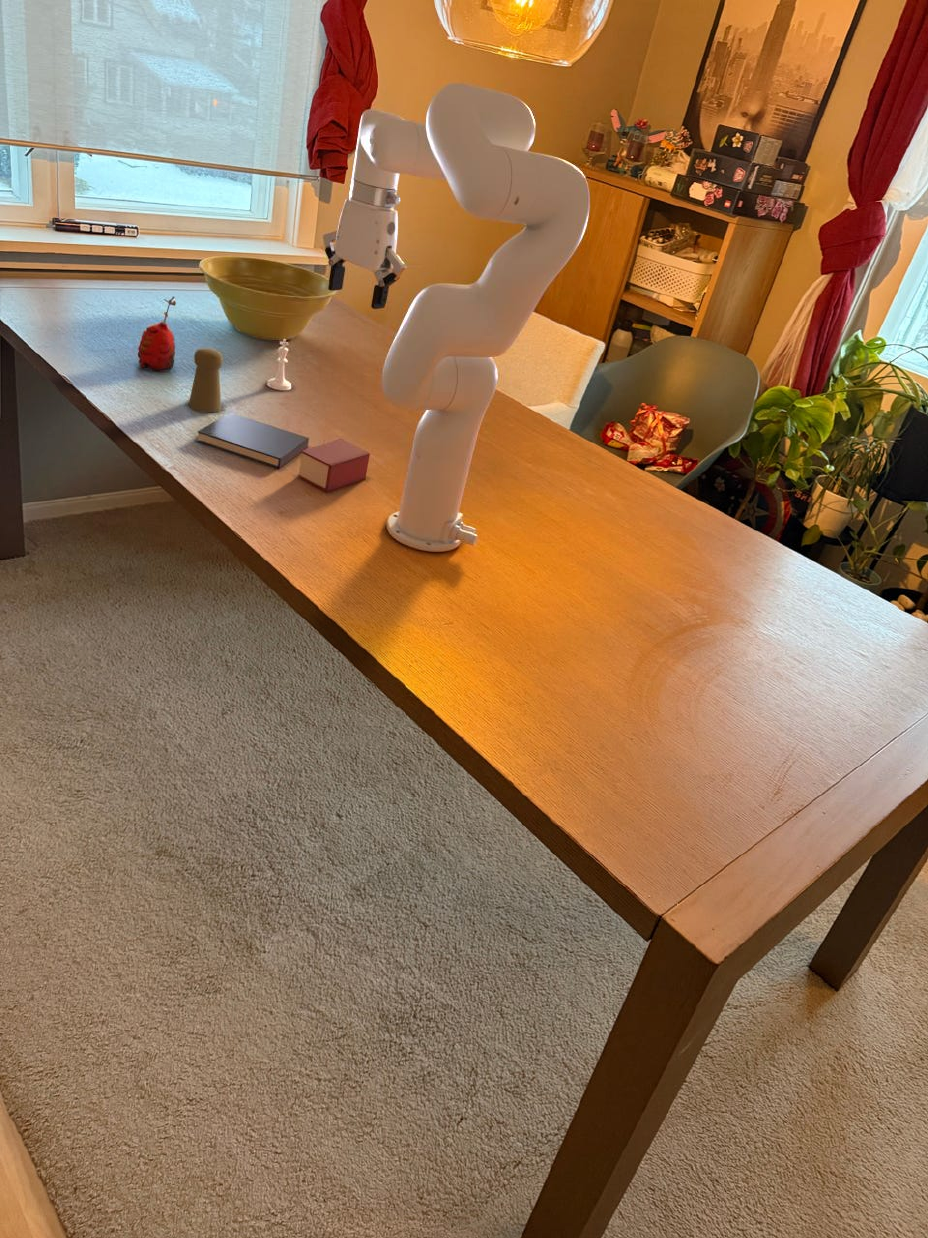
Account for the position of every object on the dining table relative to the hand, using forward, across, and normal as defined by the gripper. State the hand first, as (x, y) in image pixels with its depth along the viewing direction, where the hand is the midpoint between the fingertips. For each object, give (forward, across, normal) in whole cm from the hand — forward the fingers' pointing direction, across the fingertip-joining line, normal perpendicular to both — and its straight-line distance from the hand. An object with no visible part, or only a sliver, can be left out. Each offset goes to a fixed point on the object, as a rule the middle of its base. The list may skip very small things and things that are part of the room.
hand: (356, 298), depth 160 cm
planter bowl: (+28, +52, -36) cm, 69 cm away
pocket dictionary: (+27, -10, +13) cm, 32 cm away
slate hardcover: (+27, +6, +15) cm, 32 cm away
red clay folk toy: (+28, +43, +5) cm, 52 cm away
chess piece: (+28, +25, -12) cm, 39 cm away
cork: (+28, +24, +10) cm, 38 cm away
